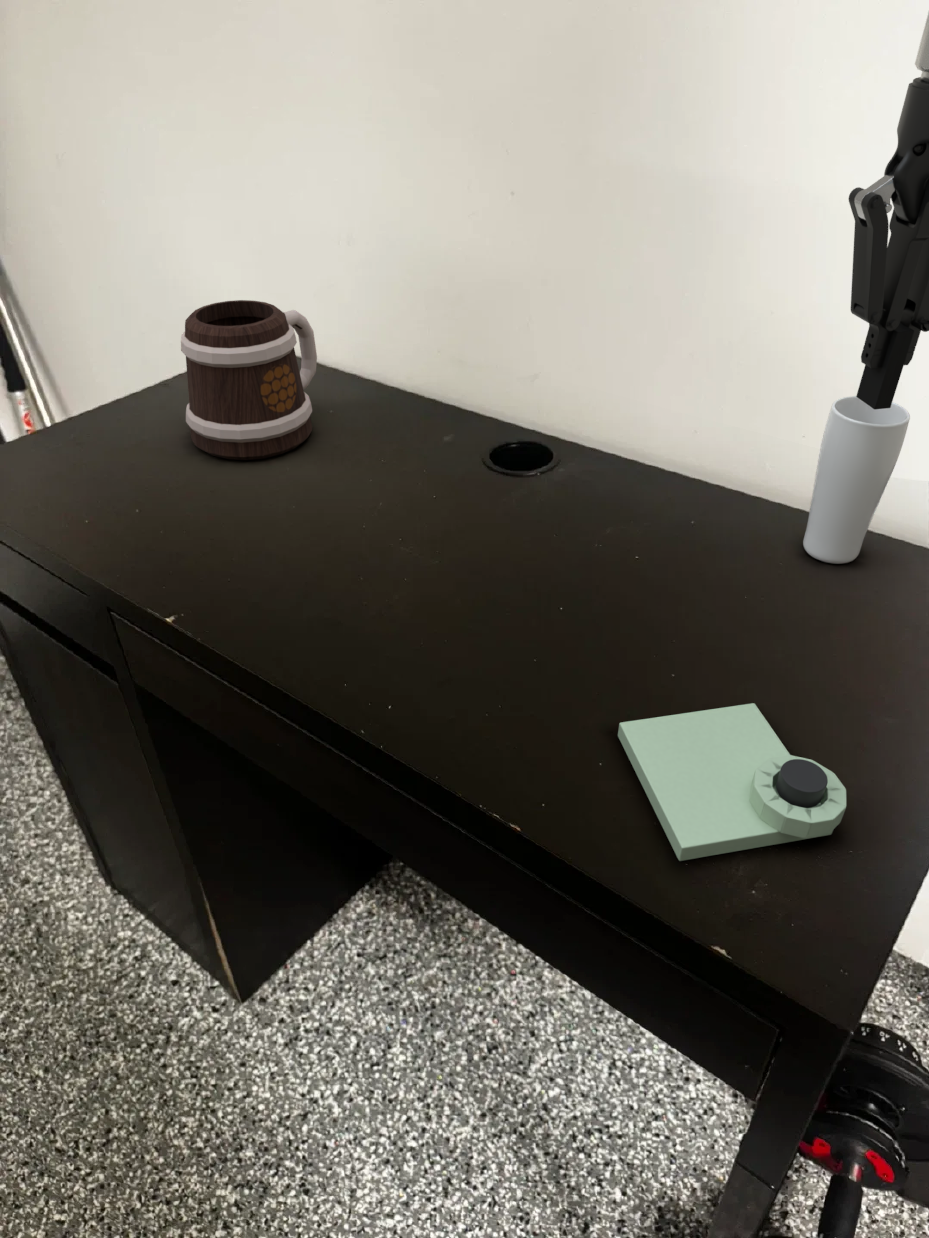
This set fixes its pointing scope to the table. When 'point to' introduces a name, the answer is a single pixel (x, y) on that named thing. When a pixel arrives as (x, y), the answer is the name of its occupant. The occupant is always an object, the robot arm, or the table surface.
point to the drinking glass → (852, 476)
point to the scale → (723, 782)
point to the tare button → (801, 783)
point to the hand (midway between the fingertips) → (873, 402)
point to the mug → (248, 379)
